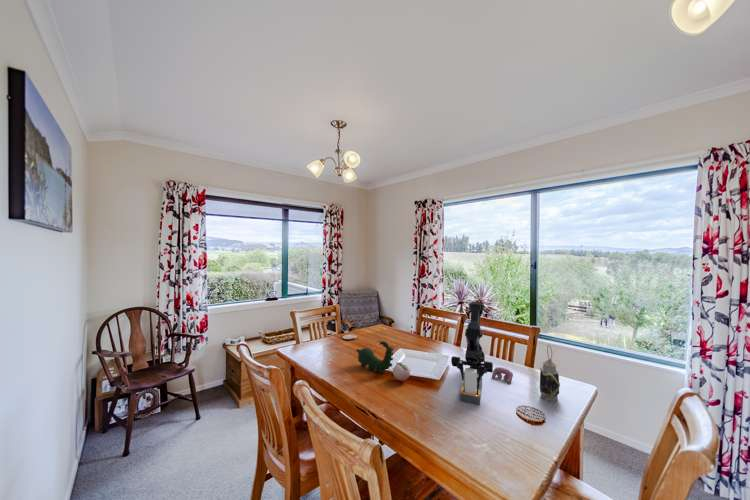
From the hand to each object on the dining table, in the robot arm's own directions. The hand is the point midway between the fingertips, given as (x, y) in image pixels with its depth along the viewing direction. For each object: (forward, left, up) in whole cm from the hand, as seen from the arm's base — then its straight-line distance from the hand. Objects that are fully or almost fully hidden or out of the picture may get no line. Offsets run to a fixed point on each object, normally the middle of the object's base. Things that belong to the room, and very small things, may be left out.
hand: (470, 382), depth 130 cm
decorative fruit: (-26, -24, -9) cm, 37 cm away
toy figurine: (-44, -34, -9) cm, 57 cm away
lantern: (+9, +37, -9) cm, 39 cm away
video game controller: (-13, +29, -9) cm, 33 cm away
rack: (-6, +5, -9) cm, 12 cm away
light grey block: (-1, +1, -8) cm, 8 cm away
